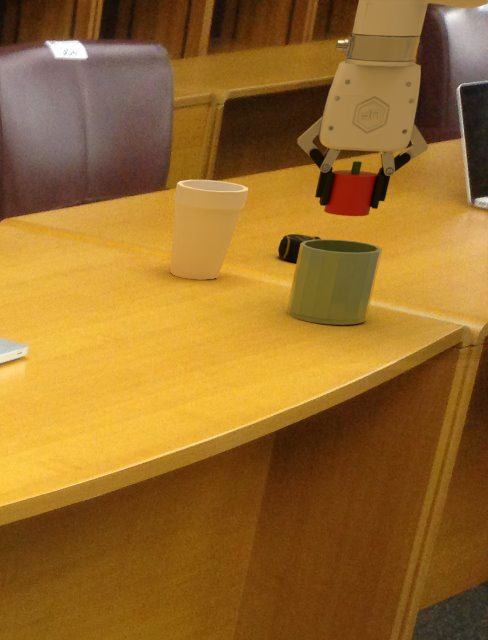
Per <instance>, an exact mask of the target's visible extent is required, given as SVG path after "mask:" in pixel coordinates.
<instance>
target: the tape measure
mask: <svg viewBox="0 0 488 640" xmlns="http://www.w3.org/2000/svg"><path fill="white" fill-rule="evenodd" d="M319 239H322V238H321V237H319V236H311V235H306V234H299V233H290V234H286V235H284V236H283V237H282V239H280V242H279V245H278V250H277V252H278V256H279V258H281V259H283V260H286V261H287V262H288V261H289V262H291V263H292V262H293V263H297V258H298V253H299V249H300V244H301V243H302V242H303V241H308V240H319Z"/></svg>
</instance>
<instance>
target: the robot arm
mask: <svg viewBox="0 0 488 640" xmlns="http://www.w3.org/2000/svg"><path fill="white" fill-rule="evenodd" d="M429 4H433V5H441V6H442V5H443V6H448V7H453V8H459V9H474V8H475V9H476V8H479V7H483V6H485V5H487V4H488V0H358V4H357V8H356V12H355V17H354V21H353V27H352V31H351V33H350V36H347V37H348V38H344V39H337V42H336V44H335V52H341V53H343V54H345V55H346V60H345V61H344V60H343V61H340V62H339V64H338V67H337V69H336V71H335V74H334V77H333V79H332V82H331V85H330V88H329V90H328V95H327V98H326V101H325V105H324V109H323V113H322V116H321V117H320V118H318V120H317V121H315V122H314V123H313V124H312V125H311V126H310V127H309V128H307V129H306V131H304V132H303V133H302V134H301V135H300V136H298V138H297V139H296V143H297V145H298V146H299V148H301V149H302V150H303V151H304V152H305V154H307V155H308V156H309V158H310V159H311V160H312V161H313V162H314V164H315V165H316V167H317V168H318V169H319V176H318V180H317V185H316V190H315V195H314V197H315V198H319V201H318V203H319V205H320V206H323V207H325V205H327V204H328V199H329V194H330V190H331V185H332V181H333V176H334V174H333V173H332V172H333V171H334V168H333V166H334V163H335V162H336V159H337V158H338V156H339V154H340V153H341V151H359V152H360V151H362V152H364V151H365V152H379V155H380V165H381V167H380V168H379V169H378V172H377V173H376V174H377V175H378V176H377V180H376V185H375V189H374V194H373V198H372V202H371V207H370V208H371V209H374V210H377V209H379V204H380V202H385V200H386V196H387V192H388V188H389V184H390V180H391V176H393V175H394V174H395V173H396V172H397V171H398V170H400V169H401V168H402V167H404V166H405V165H407V164H408V163H409V162H410V161H411V160H414V159H415V158H416V157H418V156H420V155H422V154H423V153H425V152H426V151H427V150H428V149H429V145H428V144H427V143H428V142H426V140H425V138H424V137H423V135H422V133H421V131H420V130H419V129H418V127H417V125H416V124H415V118H416V114H417V113H416V112H417V108H418V101H419V95H420V86H421V73H422V70H421V69H422V65H420V64H417V63H415V60H416V56H417V52H418V47H419V43H420V39H421V34H422V32H423V31H422V30H423V27H424V22H425V18H426V13H427V9H428V5H429ZM317 136H318V139H319V142H320V143H321V145H322V146H324V147H325V148H326V150H325V152H324V153H322V151H321V150H320V149H319V148H318V147H317V146H316V145H315V143H313V142H314V140H315V138H317ZM410 142H411V145H410V146H409V147H408V145H409V143H410ZM407 147H408V148H407ZM403 150H404V151H403ZM401 151H402V152H401ZM394 152H400V153H398V154H397V155H396V156H394V155H395V154H394Z"/></svg>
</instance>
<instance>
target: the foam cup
mask: <svg viewBox="0 0 488 640" xmlns="http://www.w3.org/2000/svg"><path fill="white" fill-rule="evenodd" d="M248 194H249V187H247V186H245V185H243V184H239V183H236V182H235V183H234V182H228V181H221V180H212V179H186V180H180V181H178V182H177V183H176V188H175V191H174V196H173V201H174V209H173V210H174V213H173V226H172V241H171V253H170V254H171V255H170V269H169V273H170V272H171V273H172V274H173V275H172V274H171V273H170V274H171V275H172V276H174V275H175V276H174V277H177V276H179V277H184V278H189V279H188V280H190V279H212V278H213V279H214V278H216V279H218V278H219V275H220V273H221V270H222V267H223V265H224V262H225V259H226V256H227V253H228V250H229V248H230V244H231V242H232V239H233V237H234V234H235V231H236V228H237V226H238V223H239V220H240V217H241V214H242V211H243V209H244V208H245V206H246V203H247V198H248ZM179 277H178V278H179ZM184 278H183V279H184ZM214 280H215V279H214Z"/></svg>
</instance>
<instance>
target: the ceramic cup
mask: <svg viewBox="0 0 488 640" xmlns="http://www.w3.org/2000/svg"><path fill="white" fill-rule="evenodd" d="M382 252H383V249H382V248H381V247H380V246H378V245H377V244H376V245H375V244H372V243H368V242H362V241H357V240H346V239H331V238H329V239H328V238H327V239H325V238H321V239H319V240H308V241H303V242H302V243H301V244H300V249H299V253H298V258H297V262H295V263H296V264H295V268H294V274H293V280H292V283H291V289H290V294H289V299H288V304H287V312H286V313H287V315H288V316H290V317H291V318H294V319H296V320H299V321H303V322H307V323H313V324H322V325H334V326H346V325H347V326H348V325H357V324H361V323H364V322H365V321H366V320H367V316H368V314H369V311H370V310H369V308H370V305H371V300H372V295H373V291H374V286H375V283H376V277H377V275H378V269H379V265H380V261H381V256H382Z"/></svg>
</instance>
